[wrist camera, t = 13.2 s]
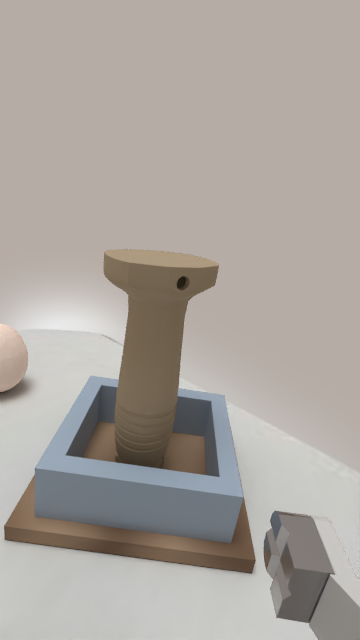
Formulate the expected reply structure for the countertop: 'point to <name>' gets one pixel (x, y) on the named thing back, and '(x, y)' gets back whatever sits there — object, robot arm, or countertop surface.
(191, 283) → the handle
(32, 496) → the board
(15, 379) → the egg
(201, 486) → the square frame
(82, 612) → the countertop surface
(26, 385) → the countertop surface
